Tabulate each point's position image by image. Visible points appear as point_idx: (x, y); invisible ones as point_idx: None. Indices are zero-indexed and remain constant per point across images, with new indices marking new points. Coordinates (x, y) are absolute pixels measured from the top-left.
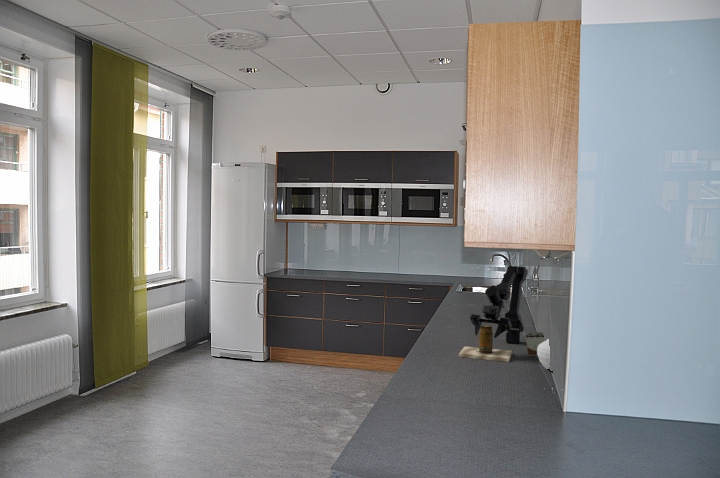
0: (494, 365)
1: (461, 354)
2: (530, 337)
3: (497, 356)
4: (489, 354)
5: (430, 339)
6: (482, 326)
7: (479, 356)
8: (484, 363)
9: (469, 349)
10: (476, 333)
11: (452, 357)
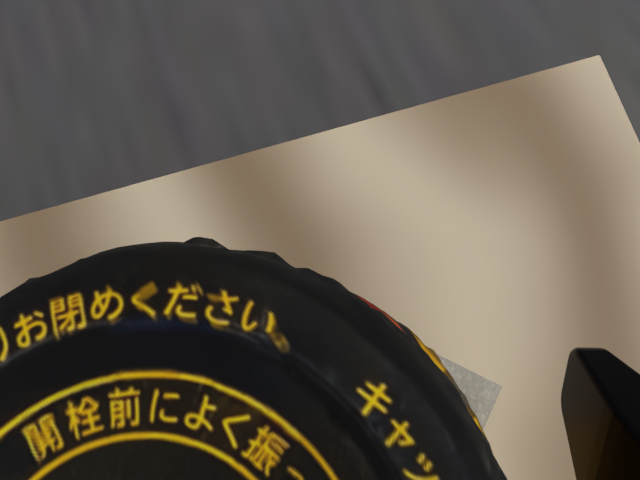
0: (47, 2)
1: (558, 70)
2: None
3: (54, 259)
4: None
5: None
6: (295, 298)
7: (297, 143)
8: (172, 7)
9: None
10: (581, 394)
11: (634, 9)
